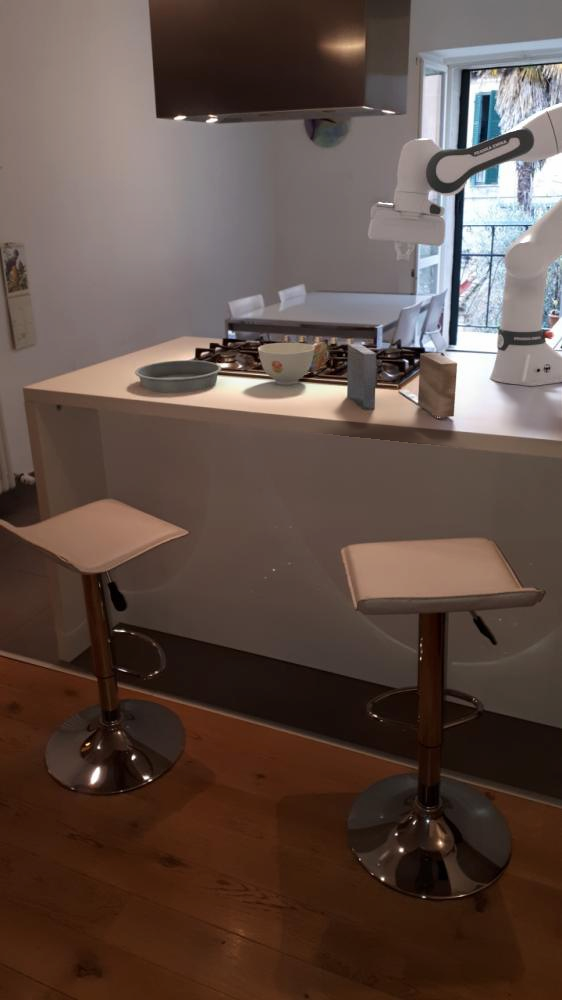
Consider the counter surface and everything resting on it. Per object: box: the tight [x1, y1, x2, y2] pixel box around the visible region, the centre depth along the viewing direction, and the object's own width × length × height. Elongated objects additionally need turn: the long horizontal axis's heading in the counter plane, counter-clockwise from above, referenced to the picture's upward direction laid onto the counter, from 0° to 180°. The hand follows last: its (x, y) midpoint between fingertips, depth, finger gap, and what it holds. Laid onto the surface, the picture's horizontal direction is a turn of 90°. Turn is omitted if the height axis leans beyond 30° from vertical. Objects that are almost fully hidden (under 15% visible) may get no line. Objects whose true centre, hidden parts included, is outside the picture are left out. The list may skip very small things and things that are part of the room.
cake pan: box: [134, 359, 222, 393], centre depth 232 cm, size 25×25×4 cm
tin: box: [308, 341, 331, 373], centre depth 243 cm, size 15×3×8 cm, turn 155°
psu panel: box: [346, 342, 435, 417], centre depth 203 cm, size 17×27×14 cm, turn 12°
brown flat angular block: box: [417, 352, 458, 419], centre depth 196 cm, size 4×13×13 cm, turn 12°
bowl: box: [257, 342, 315, 386], centre depth 229 cm, size 16×16×10 cm
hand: (402, 260), depth 215 cm, fingers closed
